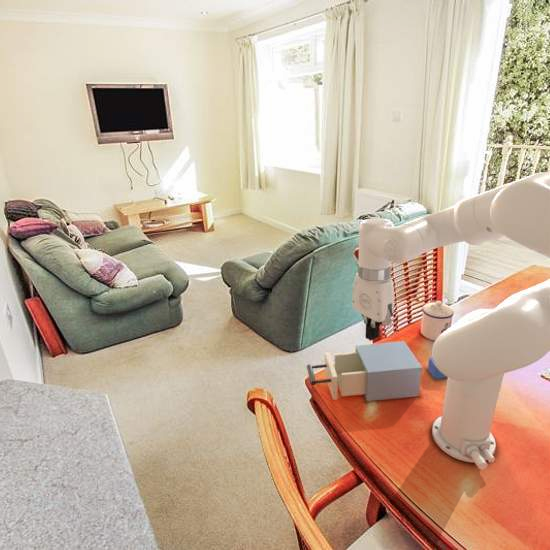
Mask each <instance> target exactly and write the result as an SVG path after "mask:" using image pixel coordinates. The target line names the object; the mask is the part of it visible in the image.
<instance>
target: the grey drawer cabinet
mask: <svg viewBox="0 0 550 550" xmlns="http://www.w3.org/2000/svg"><path fill="white" fill-rule="evenodd" d="M354 352H358V354H359V356H360V359H361V361H362V363H363V365H364V367H365V369H366V372H367V388H366V394H363V395H364V398H365V400H366V402H372V401H382V400H383V401H385V400H393V399H403V398H405V399H406V398H412V397H413V398H414V397H420V391H421V382H422V375H423V374H422V373H423V366H422V364H421V363H420V362H419V360H418V359H417V357H416V356H415V354H414V353H413V352H412V350H411V348H410V347H409V346H408V345H407V343H406V342H405V341H404V340H402V341H401V340H399V341H389V342H380V343H371V344H370V343H368V344H359V345H355V351H354Z"/></svg>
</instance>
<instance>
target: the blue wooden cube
mask: <svg viewBox="0 0 550 550" xmlns="http://www.w3.org/2000/svg"><path fill="white" fill-rule="evenodd" d="M427 371H428V372H429V373H430V375H431V377H432V378H433V379H435V380H436V379H448V377H447V376H445V375H444V374H443V373H441V372H440V371H439V370H438V368H437V367H436V365H435V363H434V361H433V357H429V358H428V365H427Z"/></svg>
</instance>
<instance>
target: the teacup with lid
mask: <svg viewBox="0 0 550 550" xmlns="http://www.w3.org/2000/svg"><path fill="white" fill-rule="evenodd" d="M421 309H422V316H421V325H420V333H421V335H422V336H423V337H425V338H426V339H428V340H431V341H435V340H436V339H437V338H438V336H440V335H441V334H442V333H443V332H444V331H446V330H447V329H448V328H450V327H451V326H452V321H453V316H454V314H455V313H454V309H453V308H452V307H451V306H450V305H448V304H446V303H443V301H442V300H436V301H434V302H428V303H426V304H424V305H423V306H422V308H421Z"/></svg>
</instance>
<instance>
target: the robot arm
mask: <svg viewBox="0 0 550 550" xmlns="http://www.w3.org/2000/svg"><path fill="white" fill-rule="evenodd" d="M506 238H508V239H509V240H511V241H513V242H515V243H517V244H519V245H521V246H523V247H525V248H527V249H529V250H531V251H534V252H536V253H538V254H540V255H543V256H545V257H547V258H550V171H542V172H538V173H533V174H531V175H528V176H525V177H522V178H519V179H516V180H515V181H511V182H509V183H505V184H503V185H501V186H498V187H495V188H492V189H490V190H487V191H484V192H481V193H478V194H476V195H472V196H470V197H467V198H465V199H464V198H463V199H462V200H460V201H458V202H456V204H455V205H452V206H450V207H447V208H445V209H441V210H439V211H436V212H433V213H431V214H427V215H425V216H421V217H419V218H415V219H413V220H410V221H407V222H404V223H401V224H400V225H396V226H395V225H394V224H393V222H392V221H391V220H389V219H387V218H382V217H371V218H366V219H363V220H362V221H361V222H360V223H359V227H358V260H357V262H356V266H357V267H358V268H357V269H358V271H357V272H356V274H355V277H354V281H353V286H352V297H351V305H352V306H351V307H352V309H353V310H355V311H356V312H357V313H359V314H361V317H362V318H363V324H365V339H367V340H368V341H370V342H371V341H373V340H375V339H377V338H379V337H380V326H381V325H382V326H386V327H388V326H391V325H392V317H394V314H395V287H394V281H393V279H392V266H393V264H392V263H394V264H405V263H407V262H410V260H413V259H415V258H417V257H419V256H421V255H424V254H426V253H428V252H430V251H433V250H435V249H438V248H443V247H446V246H449V245H453V244H457V243H463V242H465V243H466V244H468V245H471V246H478V245H483V244H486V243H490V242H495V241H497V240H501V239H506ZM431 349H432V350H431V356H432V357H431V358H433V361H434V363H435V365H436V367H437V368H438V370H439V371H440V372H441V373H443V374H444V375H445V376H447V377H448V378H446V379H447V381H446V385H445V392H444V399H443V406H442V412H441V416H439V417H437V418H436V419H435V420H434V421H433V424H432V426H431V434H432V435H431V436H432V438H433V440H434V442H435V444H436V445H437V446H438V447H439V449H441V450H442V451H443V452H444V453H445V454H447V455H448V456H451V457H452V458H454V459H456V460H459V461H463V462H465V463H474V464H475V466H476V467H477V468H478V470H480V471H483V470H486V469H487V468H488V466H489V464H488V463H494V462H495V460H496V458H495V457H494V454H495V452H496V447H497V444H496V439H495V437H494V435H493V433H492V432H491V430H492V425H493V422H494V417H495V413H496V409H497V404H498V400H499V396H500V392H501V388H502V384H503V381H504V380H503V379H504V375H505V374H506V373H511V372H513V371H516V370H520V369H523V368H526V367H528V366H531V365H533V364H534V363H536V362H538V361H540V360H541V359H542V358H543V357H545V356H546V355H547V354H548V353H549V352H550V279H548V280H546V281H543V282H542V283H539V284H537V285H535V286H532V287H530V288H527V289H524V290H521V291H519V292H516V293H514V294H512V295H511V296H509V297H508V298H506V299H505V300H504V301H503V302H501V303H499V305H497V306H496V307H495V308H494V309H490V308H481V309H476V310H473V311H471V312H469V313H467V314H466V315H464V316H462V317H461V318H459V320H457V321H456V322H455V323H453V324H451V327H450V328H448V329H447V330H446V331H444V332H443V333H442V334H441V335H440V336H438V338H437V339H436V340H434V341H433V345H432V348H431ZM487 461H488V462H487Z"/></svg>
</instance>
